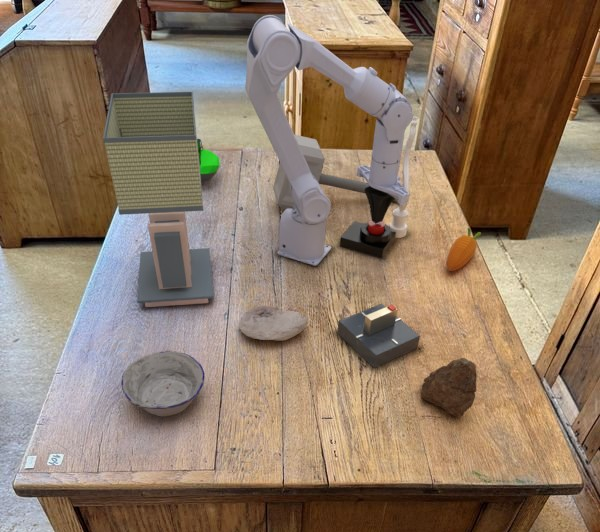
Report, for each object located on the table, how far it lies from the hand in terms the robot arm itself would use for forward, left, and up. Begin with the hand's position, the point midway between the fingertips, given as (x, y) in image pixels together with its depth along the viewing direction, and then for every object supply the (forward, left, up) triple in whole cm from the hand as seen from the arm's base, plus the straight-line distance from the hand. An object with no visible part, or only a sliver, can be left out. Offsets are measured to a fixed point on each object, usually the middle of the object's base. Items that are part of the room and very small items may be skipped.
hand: (377, 220), depth 123 cm
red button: (0, 0, -2) cm, 2 cm away
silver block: (+13, -30, -3) cm, 33 cm away
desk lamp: (-30, -33, -6) cm, 45 cm away
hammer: (-15, +13, -6) cm, 20 cm away
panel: (+12, -30, -6) cm, 33 cm away
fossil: (-6, -37, -6) cm, 38 cm away
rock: (+28, -40, -6) cm, 50 cm away
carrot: (+18, -4, -4) cm, 19 cm away
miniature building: (-51, +6, -6) cm, 51 cm away
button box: (-2, 0, -6) cm, 6 cm away
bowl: (-13, -60, -6) cm, 62 cm away
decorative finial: (+2, +8, -6) cm, 10 cm away
